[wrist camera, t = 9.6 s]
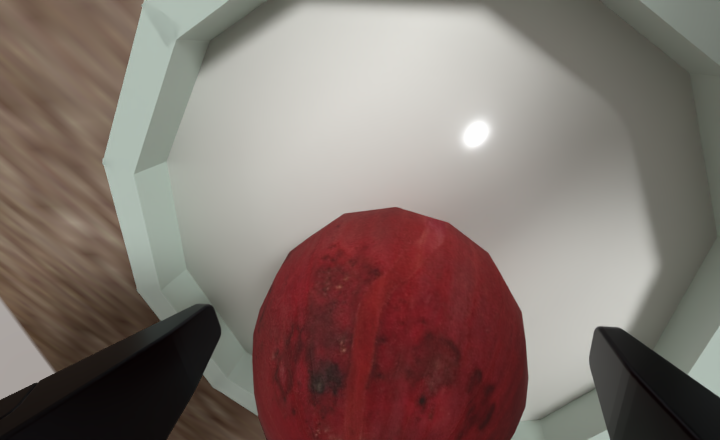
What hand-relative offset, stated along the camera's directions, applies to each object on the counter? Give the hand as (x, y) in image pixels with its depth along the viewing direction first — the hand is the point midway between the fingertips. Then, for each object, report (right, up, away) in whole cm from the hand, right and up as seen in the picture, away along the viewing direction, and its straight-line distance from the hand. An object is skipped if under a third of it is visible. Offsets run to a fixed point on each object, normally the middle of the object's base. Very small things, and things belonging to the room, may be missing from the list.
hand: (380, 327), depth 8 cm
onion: (+1, +1, +3) cm, 4 cm away
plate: (+1, +2, +4) cm, 4 cm away
